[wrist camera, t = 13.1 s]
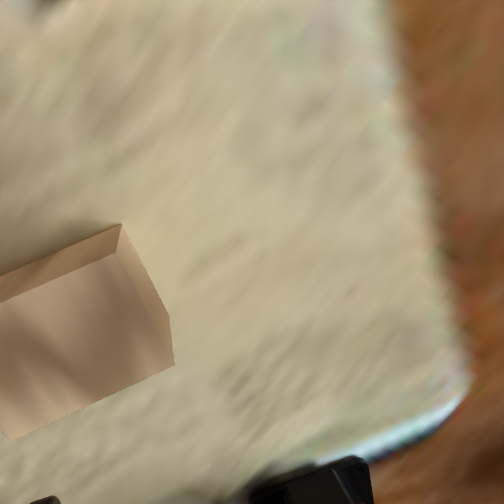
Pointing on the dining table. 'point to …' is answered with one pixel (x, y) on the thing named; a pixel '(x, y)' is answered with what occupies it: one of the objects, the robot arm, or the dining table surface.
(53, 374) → the wood block
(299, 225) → the dining table surface
